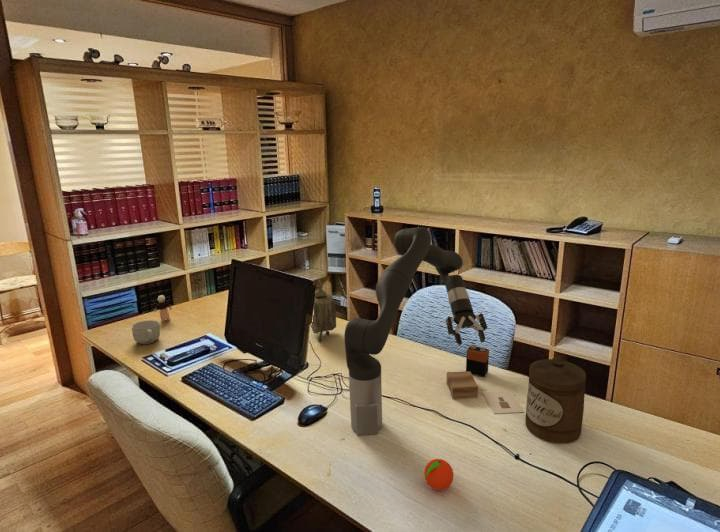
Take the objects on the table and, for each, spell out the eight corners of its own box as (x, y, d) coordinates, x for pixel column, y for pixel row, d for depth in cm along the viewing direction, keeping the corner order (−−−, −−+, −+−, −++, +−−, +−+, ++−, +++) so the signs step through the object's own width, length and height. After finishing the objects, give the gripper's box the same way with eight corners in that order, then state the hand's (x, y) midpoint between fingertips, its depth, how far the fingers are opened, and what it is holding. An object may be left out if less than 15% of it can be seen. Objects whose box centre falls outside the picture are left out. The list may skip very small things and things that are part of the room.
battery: (469, 367, 170) (470, 342, 167) (488, 372, 167) (489, 346, 164) (465, 373, 167) (466, 347, 164) (484, 377, 163) (485, 351, 160)
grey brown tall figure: (309, 330, 207) (305, 276, 200) (329, 327, 209) (326, 273, 202) (316, 344, 193) (312, 286, 186) (337, 340, 196) (334, 283, 189)
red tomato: (435, 503, 109) (435, 477, 107) (415, 486, 115) (415, 461, 113) (459, 487, 114) (460, 463, 112) (438, 472, 119) (438, 448, 117)
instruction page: (523, 412, 143) (523, 411, 143) (493, 413, 143) (493, 412, 142) (510, 391, 154) (510, 390, 154) (482, 392, 154) (482, 391, 154)
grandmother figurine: (171, 317, 227) (167, 292, 223) (174, 319, 224) (170, 294, 221) (155, 321, 222) (150, 296, 219) (157, 324, 219) (153, 298, 216)
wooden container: (514, 419, 139) (518, 352, 133) (554, 408, 144) (560, 342, 138) (550, 450, 126) (557, 376, 120) (593, 436, 131) (601, 364, 125)
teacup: (134, 339, 204) (131, 322, 202) (161, 334, 208) (158, 317, 206) (134, 352, 192) (131, 333, 190) (163, 346, 196) (160, 328, 194)
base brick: (477, 397, 151) (478, 386, 150) (452, 398, 151) (453, 387, 150) (469, 381, 161) (470, 371, 160) (446, 382, 161) (446, 372, 160)
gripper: (444, 299, 171) (456, 341, 164) (481, 295, 174) (494, 336, 166) (439, 308, 178) (449, 349, 170) (474, 304, 181) (486, 344, 173)
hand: (471, 343), depth 168 cm, fingers open, 8 cm apart
